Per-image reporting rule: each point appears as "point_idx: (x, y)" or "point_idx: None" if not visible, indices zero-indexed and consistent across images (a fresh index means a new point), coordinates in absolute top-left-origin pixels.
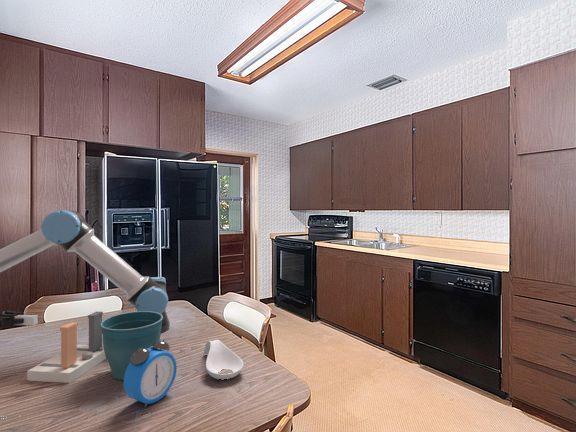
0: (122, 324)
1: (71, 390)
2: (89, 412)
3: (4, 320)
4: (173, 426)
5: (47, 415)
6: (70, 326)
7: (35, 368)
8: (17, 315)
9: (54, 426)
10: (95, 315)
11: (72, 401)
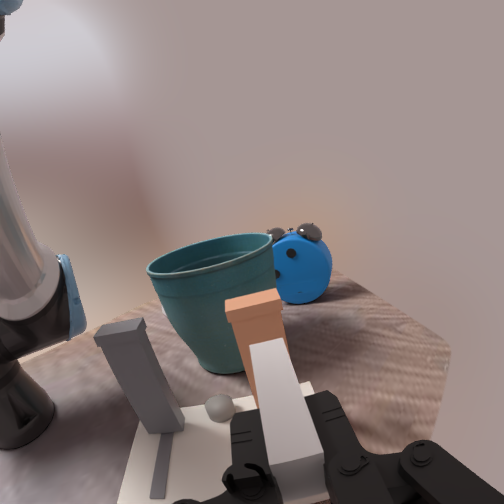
0: (173, 299)
1: (334, 373)
2: (362, 314)
3: (417, 446)
4: (333, 269)
5: (400, 337)
6: (261, 292)
7: None
8: (289, 458)
9: (404, 315)
10: (138, 319)
11: (357, 345)
